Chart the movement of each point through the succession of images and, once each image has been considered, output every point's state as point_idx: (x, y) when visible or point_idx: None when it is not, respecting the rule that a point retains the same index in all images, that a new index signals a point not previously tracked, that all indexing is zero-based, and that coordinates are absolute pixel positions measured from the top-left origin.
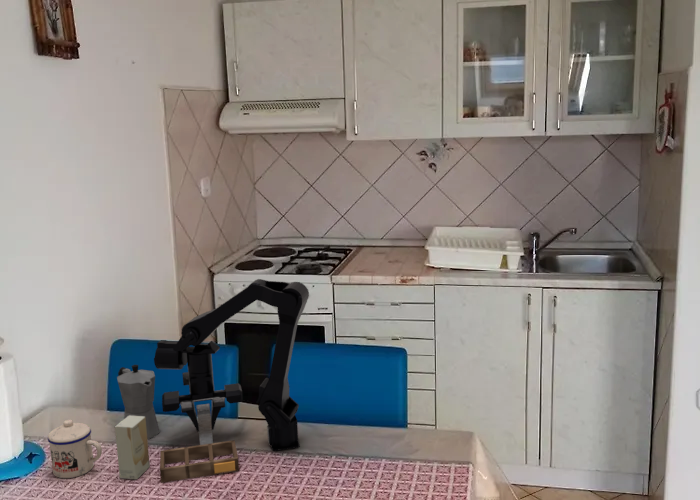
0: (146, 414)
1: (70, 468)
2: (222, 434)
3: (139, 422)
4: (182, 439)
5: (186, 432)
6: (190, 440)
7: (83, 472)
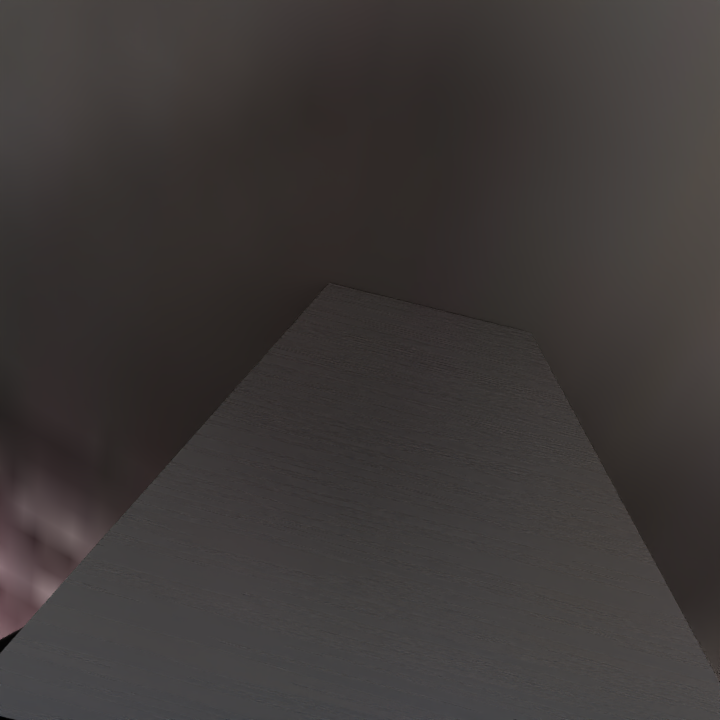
0: None
1: None
2: (677, 449)
3: None
4: (64, 271)
5: (153, 26)
6: (172, 370)
7: None
